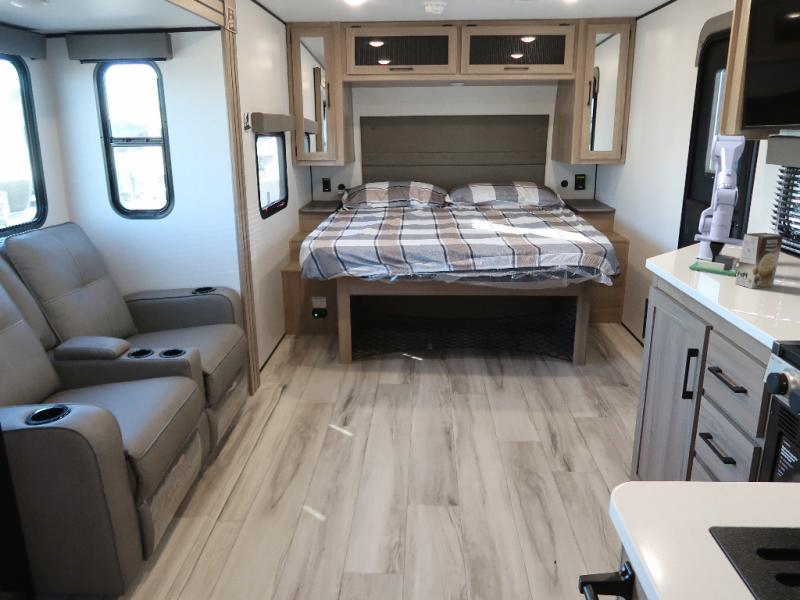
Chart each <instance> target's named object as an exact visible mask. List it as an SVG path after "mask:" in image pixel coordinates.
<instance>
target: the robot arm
mask: <svg viewBox="0 0 800 600" xmlns="http://www.w3.org/2000/svg"><path fill="white" fill-rule="evenodd" d="M745 144H746V137H745V136H744V135H718V134H715V135H714V136H713V138H712V143H711V152H710V160H713V162H715V168H716V169H715V176H714V182H713V187H712V195H711V196H712V197H711V203H710V206H709V207H708V208H706V209H705V210H703V211H702V212H701V214H700V218H699V224H698V225H699V226H698V232H699V234H698V233H696V234H695V235H694V241H698V242H700V244H699V251H698V254H697V255H696V256H695V257H694V258H695V259H698V258H699V259H700V260H703V257H705V258H712V262H714V263H715V258H716V256H717V255H718V254H720V255H722V253H723V248H724V247H725V245H730V246H737V247H742V245H743V240H744V239H737V238H733V237H729V236H730V230H731V224H732V219H733V214H734V208H735V207H736V205H737V202H738V198H739V191H738V186H737V180H738V179H737V177H738V176H737V172H736V171H735V170H734V167H735V162H737V161H739V159H740V158H741V156H742V154H743V152H744V150H745ZM700 233H701V234H700Z"/></svg>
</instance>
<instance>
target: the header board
mask: <svg viewBox="0 0 800 600" xmlns="http://www.w3.org/2000/svg"><path fill="white" fill-rule="evenodd" d="M737 263H738V258H734V260H733V265H732V269H730V270H725V269H724V266H725V264H721V263H714V262H712V258H705V257H703V259H702V260H701V259H700V260H698V261H696V262H695V263H693V264H692V265H690V266H689V267H688V270H689V269H693V270H692V271H695V270H699V271H698V272H701V271H705V272H704V273H708V272H710V273H709V274H715V275H722V276H727V275H728V277H733V276H734V277H736V276H737V275H736V274H737V271H738V266H737ZM735 275H736V276H735Z"/></svg>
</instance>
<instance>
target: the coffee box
mask: <svg viewBox="0 0 800 600" xmlns="http://www.w3.org/2000/svg"><path fill="white" fill-rule="evenodd" d="M783 239H784V235H781V234H775V233H768V232H753V233H752V232H751V233H750V232H749V233H744V235H743V239H742V240H743V244H742V246H741V250H740V257H739V260H738V266H737V267H738V271H737V275H736V276H735V282H734V284H735V285H738V286H741V287H744V286H745V288H749V289H763V288H769V287H770V288H772V287H773V286H774V282H775V277H776V272H777V268H778V263H779V258H780V253H781V249H782V243H783Z"/></svg>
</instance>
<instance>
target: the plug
mask: <svg viewBox="0 0 800 600" xmlns="http://www.w3.org/2000/svg"><path fill="white" fill-rule="evenodd" d="M734 259H736V258H735V256H732V255H728V254H727V255H725V254H721V255H720V254H718V255H717V256H716V258H715V263H721V264H725V266H724V269H725V270H730V269H732V265H733V260H734Z"/></svg>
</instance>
